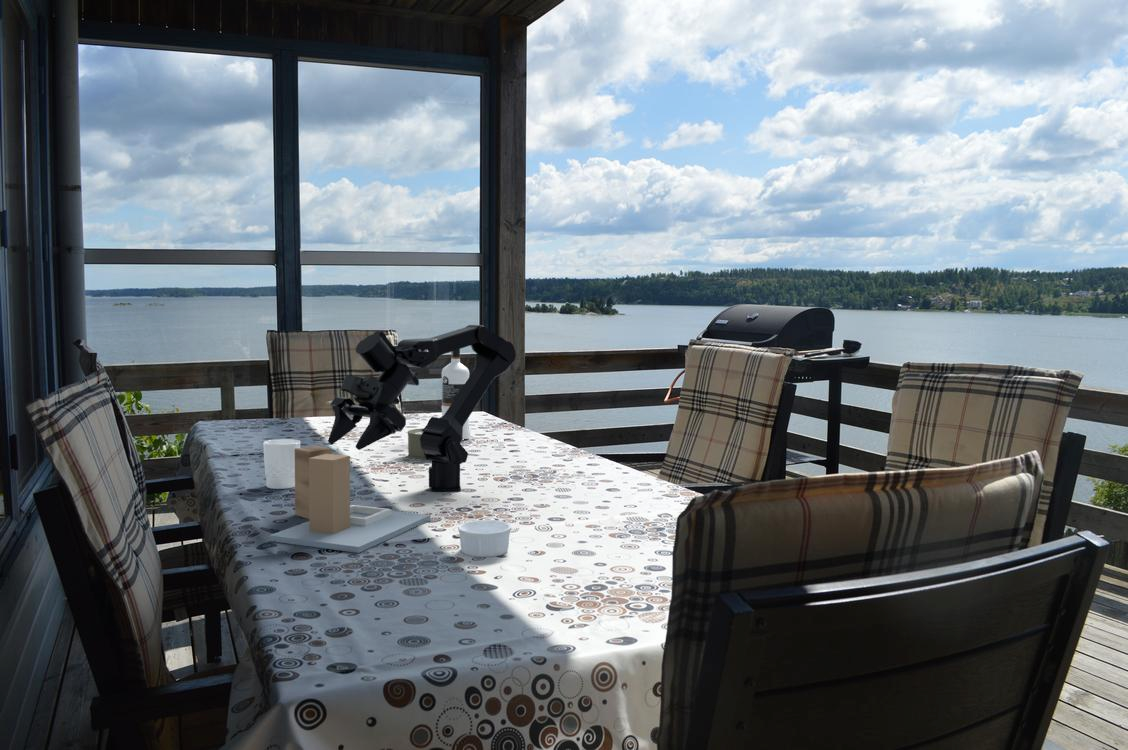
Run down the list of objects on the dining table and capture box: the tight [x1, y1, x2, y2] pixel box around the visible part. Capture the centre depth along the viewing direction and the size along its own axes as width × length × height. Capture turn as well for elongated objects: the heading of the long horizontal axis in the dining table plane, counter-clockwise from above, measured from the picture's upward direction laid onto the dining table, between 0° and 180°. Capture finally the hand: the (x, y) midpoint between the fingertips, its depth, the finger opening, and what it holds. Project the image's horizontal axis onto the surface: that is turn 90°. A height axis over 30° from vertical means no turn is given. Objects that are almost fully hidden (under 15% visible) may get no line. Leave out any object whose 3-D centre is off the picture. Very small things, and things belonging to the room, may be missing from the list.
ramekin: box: [457, 519, 512, 558], centre depth 148 cm, size 9×9×4 cm
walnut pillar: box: [294, 445, 333, 520], centre depth 170 cm, size 5×5×13 cm
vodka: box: [441, 349, 471, 441], centre depth 266 cm, size 9×9×30 cm
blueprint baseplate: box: [269, 453, 431, 554], centre depth 159 cm, size 24×18×14 cm
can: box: [407, 427, 427, 461], centre depth 237 cm, size 12×12×7 cm
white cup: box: [262, 438, 301, 490], centre depth 196 cm, size 8×8×10 cm
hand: (343, 445), depth 174 cm, fingers open, 9 cm apart
